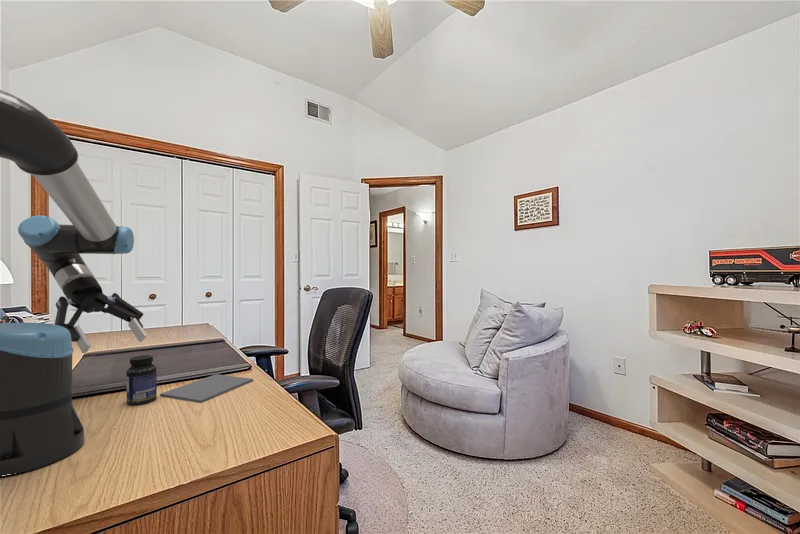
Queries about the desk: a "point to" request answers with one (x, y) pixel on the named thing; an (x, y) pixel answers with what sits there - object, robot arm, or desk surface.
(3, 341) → the robot arm
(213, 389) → the desk mat
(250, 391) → the desk surface
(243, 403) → the desk surface
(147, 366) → the pill bottle
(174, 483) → the desk surface
